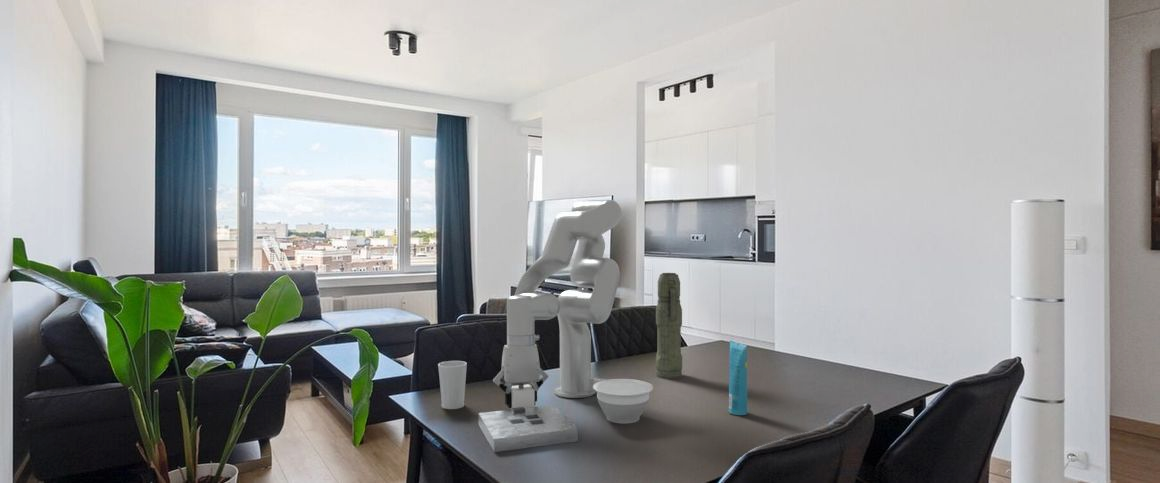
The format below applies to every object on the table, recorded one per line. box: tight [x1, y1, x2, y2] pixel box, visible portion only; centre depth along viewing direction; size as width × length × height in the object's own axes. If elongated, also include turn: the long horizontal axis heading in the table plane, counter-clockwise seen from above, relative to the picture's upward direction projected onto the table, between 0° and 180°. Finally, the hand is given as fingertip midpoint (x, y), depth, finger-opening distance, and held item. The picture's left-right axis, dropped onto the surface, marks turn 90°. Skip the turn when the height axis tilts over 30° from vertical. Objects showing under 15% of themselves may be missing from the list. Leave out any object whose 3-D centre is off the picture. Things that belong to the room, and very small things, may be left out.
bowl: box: [593, 378, 654, 424], centre depth 157 cm, size 16×16×9 cm
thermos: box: [655, 272, 683, 380], centre depth 201 cm, size 9×12×35 cm
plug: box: [510, 382, 536, 410], centre depth 163 cm, size 6×6×8 cm
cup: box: [437, 360, 468, 410], centre depth 168 cm, size 8×8×12 cm
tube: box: [728, 339, 748, 416], centre depth 160 cm, size 7×5×19 cm, turn 26°
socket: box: [478, 404, 579, 453], centre depth 146 cm, size 20×20×4 cm
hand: (521, 404), depth 163 cm, fingers closed on plug, 6 cm apart
